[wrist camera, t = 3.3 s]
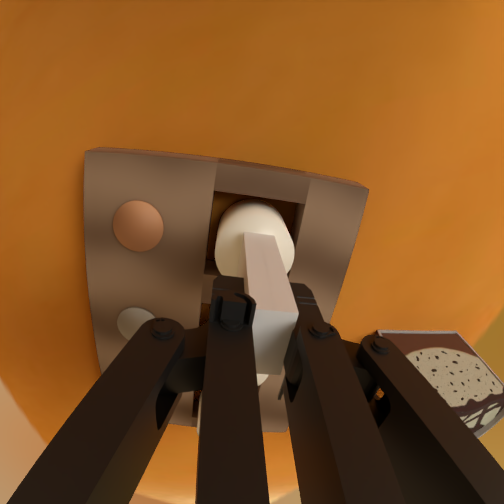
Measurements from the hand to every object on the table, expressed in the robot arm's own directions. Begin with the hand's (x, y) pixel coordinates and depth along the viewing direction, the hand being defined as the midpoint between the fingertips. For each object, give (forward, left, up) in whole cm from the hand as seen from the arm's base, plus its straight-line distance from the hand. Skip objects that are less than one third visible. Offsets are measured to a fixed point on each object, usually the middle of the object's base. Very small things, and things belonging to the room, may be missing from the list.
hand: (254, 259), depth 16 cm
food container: (+10, +16, -5) cm, 19 cm away
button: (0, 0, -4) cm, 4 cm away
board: (+7, -2, -4) cm, 8 cm away
